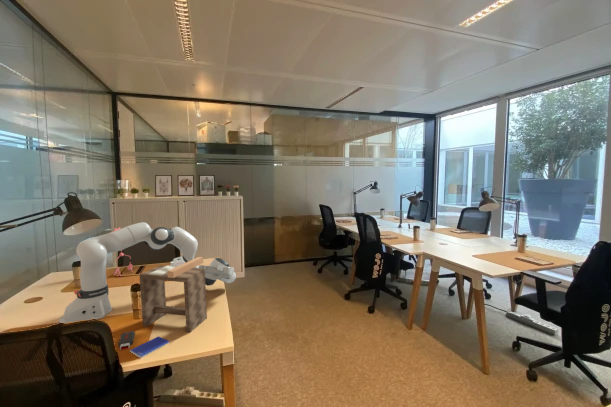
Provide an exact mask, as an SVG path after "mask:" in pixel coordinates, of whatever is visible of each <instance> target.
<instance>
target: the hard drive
mask: <svg viewBox="0 0 611 407" xmlns="http://www.w3.org/2000/svg"><path fill="white" fill-rule="evenodd" d="M166 344H167V345H168V344H170V341H169V340H167V339H166V338H164V337H161V336H156V337H154V338H152V339H150V340H149V341H146V342H144V343H142V344H140V345H138V346H136V347H134V348H132V349H130V350H129V353H130V352H131V354H132V353H133V354H132V355H134V354H135V356H136V357H138V358H140V359H142V358H145V357H146V356H148V355H150V354H152V353H154V352H155V350H156V351H157V349H158V350H160V349H161V348H163V347H165V346H167V345H166Z"/></svg>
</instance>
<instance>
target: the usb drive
mask: <svg viewBox="0 0 611 407" xmlns="http://www.w3.org/2000/svg"><path fill="white" fill-rule="evenodd" d="M135 335H136V332H135V331H134V330H131V331H125V332H122V333H121V335H120V338H119V342H118V348H119V347H120V348H119V350H120V351H123V350H122V349H124V350H127V349H126V348H128V349H130V348H129V347H131V346H132V345H133V344H134V341H133V340H135ZM130 345H131V346H130Z"/></svg>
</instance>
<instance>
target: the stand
mask: <svg viewBox="0 0 611 407" xmlns="http://www.w3.org/2000/svg"><path fill="white" fill-rule="evenodd" d="M175 267H178V266H170V265H168V264H167V265H159V266H156V267H154V268H152V269H149V270H146V271H144V272H141V273H140V274H139V287H140V289H139V290H140V303H141V316H142V327H144V328H147V327H149V326H150V325H152V324H153V323H155V322H157V321H158V320H159V319H160V318H162V317H163V316H165V315H176V316H181V317H183V316H184V317H185V329H186V330H185V331H186V333H191V332H193V331H194V330H195V329H196V328H197V327H199V324H200V325H201V324H202V323H203V322H204V321H206V320H207V319H208V314H207V313H208V311H207V290H206V286H207V285H205V269H202V268H192V269H190V270H188V271H186V272H184V273H182V274H180V275H178V276H176V277H174V278H168V271H169V270H171V269H173V268H175ZM165 281H167V282H175V283H176V282H178V283H183V291H184V293H183V294H184V295H183V296H184V307H180V306H179V307H178V306H171V305H167V302H166V301H167V300H166V284H165ZM205 319H206V320H205ZM192 330H193V331H192Z"/></svg>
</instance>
